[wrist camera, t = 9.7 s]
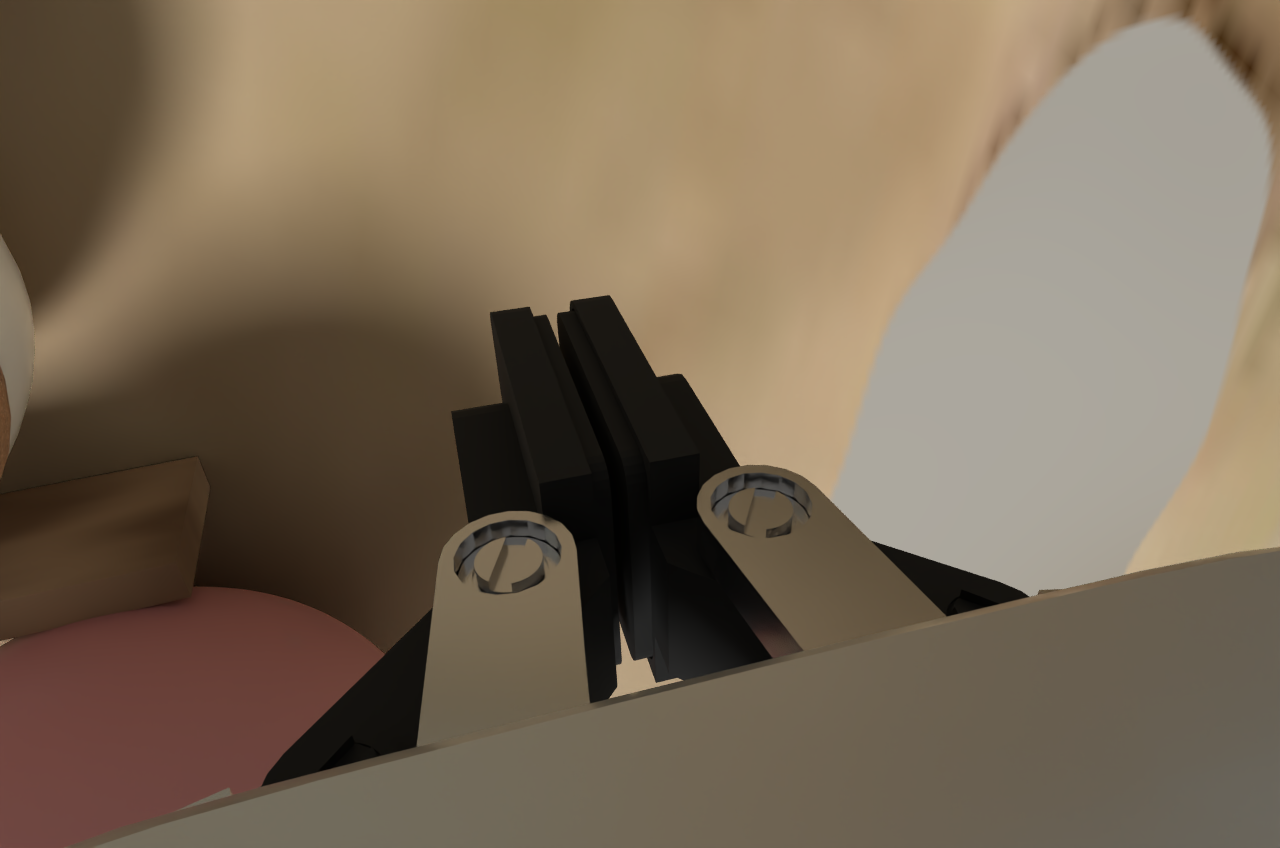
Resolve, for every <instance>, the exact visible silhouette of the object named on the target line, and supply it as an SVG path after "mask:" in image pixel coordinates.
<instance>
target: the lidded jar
mask: <svg viewBox="0 0 1280 848" xmlns="http://www.w3.org/2000/svg"><path fill="white" fill-rule="evenodd" d="M34 356H35V331H34V324H33V317H32V310H31V302H30V299H29V296H28V293H27V290H26V287H25V284H24V281H23V278H22V275H21V272H20V269H19V268H18V266H17V264H16V262H15V260H14V258H13V256H12V254H11V253H10V251H9V249H8V247H7V245H6V243H5V241H4V240H3V238H2V236H1V234H0V481H1V477H2V474H3V471H4V467H5V464H6V461H7V457H8V456H9V454H10V451H11V449H12V447H13V445H14V442H15V440H16V438H17V435H18V433H19V430H20V427H21V424H22V420H23V417H24V414H25V410H26V407H27V404H28V400H29V395H30V391H31V387H32V382H33V371H34Z"/></svg>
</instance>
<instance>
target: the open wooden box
mask: <svg viewBox="0 0 1280 848" xmlns="http://www.w3.org/2000/svg"><path fill="white" fill-rule="evenodd" d="M209 493H210V486H209V483H208V481H207V478H206V476H205V473H204V471H203V468H202V466H201V463H200V461H199V458H198V456H197V457H191V458H186V459H181V460H176V461H171V462H165V463H160V464H155V465H150V466H145V467H139V468H134V469H129V470H124V471H119V472H113V473H108V474H103V475H98V476H93V477H87V478H82V479H77V480H72V481H67V482H62V483H56V484H51V485H46V486H41V487H36V488H30V489H25V490H20V491H15V492H10V493H4V494H0V641H2V640H6V639H10V638H15V637H19V636H23V635H28V634H32V633H36V632H41V631H45V630H49V629H54V628H58V627H61V626H64V625H68V624H71V623H75V622H78V621H82V620H86V619H90V618H95V617H99V616H104V615H109V614H114V613H119V612H125V611H132V610H137V609H141V608H145V607H150V606H154V605H158V604H163V603H167V602H171V601H176V600H180V599H184V598H189V597H191V595H192V589H193V584H194V578H195V572H196V567H197V561H198V555H199V550H200V544H201V538H202V533H203V527H204V521H205V515H206V510H207V504H208V498H209Z"/></svg>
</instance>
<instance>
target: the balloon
mask: <svg viewBox="0 0 1280 848" xmlns="http://www.w3.org/2000/svg"><path fill="white" fill-rule="evenodd" d="M384 655H385V654H384V653H383V652H382V651H381V650H380V649H379V648H377V647H376V646H375V645H374V644H373V643H371V642H370V641H369V640H368V639H366V638H365V637H364V636H362V635H361V634H360V633H358V632H357V631H355V630H354V629H352V628H351V627H349V626H347V625H346V624H344V623H342V622H341V621H339V620H337V619H335V618H333V617H332V616H330V615H328V614H326V613H324V612H321V611H319V610H317V609H315V608H312V607H310V606H307V605H305V604H302V603H299V602H296V601H293V600H290V599H287V598H283V597H280V596H276V595H271V594H267V593H263V592H258V591H252V590H245V589H236V588H224V587H193V589H192V595H191V597H189V598H184V599H180V600H176V601H171V602H167V603H163V604H158V605H154V606H150V607H145V608H141V609H137V610H132V611H125V612H119V613H114V614H109V615H104V616H99V617H95V618H90V619H86V620H82V621H78V622H75V623H71V624H68V625H64V626H61V627H58V628H54V629H49V630H45V631H41V632H36V633H32V634H28V635H23V636H19V637H16V638H14V639H12V640H10V641H9V642H7V643H5V644H4V645H2V646H0V848H64V847H67V846H70V845H73V844H75V843H78V842H81V841H84V840H86V839H89V838H92V837H95V836H98V835H100V834H103V833H106V832H109V831H111V830H114V829H117V828H120V827H123V826H126V825H130V824H133V823H137V822H140V821H143V820H147V819H150V818H154V817H157V816H161V815H164V814H168V813H171V812H174V811H176V810H179V809H181V808H183V807H185V806H188V805H190V804H192V803H195V802H197V801H199V800H201V799H204V798H206V797H208V796H211V795H213V794H215V793H217V792H220V791H222V790H224V789H227V788H230V790H231V792H232V794H233V795H234V794H238V793H241V792H245V791H249V790H252V789H256V788H258V787H261V786H262V784H263V781H264V779H265V777H266V775H267V773H268V772H269V771H270V770H271V769H272V767H273V766H274V765H275V764H276V762H277V761H278V760H279V759H280V757H281V756H282V755H283V754H284V753H285V752H286V751H287V750H288V749H289V748H290V747H291V746H292V745H293V744H294V743H295V742H296V741H297V740H298V739H299V738H300V737H301V736H302V735H303V734H304V733H305V732H306V731H307V730H308V729H309V728H310V727H311V726H312V725H313V724H314V723H315V722H316V721H317V720H318V719H320V718H321V717H322V716H323V715H324V714H325V713H326V712H327V711H328V710H329V709H330V708H331V707H332V706H333V705H334V704H335V703H336V702H337V701H338V700H339V699H340V698H341V697H342V696H343V695H344V694H345V693H346V692H347V691H348V690H349V689H350V688H351V687H352V686H353V685H354V684H355V683H356V682H357V681H358V680H359V679H360V678H361V677H362V676H364V675H365V674H366V673H367V672H368V671H369V670H370V669H371V668H372V667H373V666H374V665H375V664H376V663H377V662H378V661H379V660H380V659H381V658H382V657H383V656H384Z"/></svg>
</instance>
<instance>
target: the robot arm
mask: <svg viewBox="0 0 1280 848" xmlns="http://www.w3.org/2000/svg"><path fill="white" fill-rule="evenodd" d="M490 318H491V326H492V334H493V340H494V347H495V354H496V361H497V368H498V375H499V382H500V389H501V396H502V403H499V404H493V405H487V406H481V407H475V408H469V409H463V410H457V411H451V413H452V420H453V426H454V433H455V439H456V445H457V452H458V458H459V464H460V471H461V477H462V483H463V490H464V496H465V503H466V509H467V515H468V522H469V524H468V525H466V526H465V527H463V528H462V529H461V530H459V531H458V532H456V533H455V534H454V535H453V536H452V537H451V539H450V540H449V541H448V542H447V544H446V545H445V546H444V547H443V550H442V553H441V556H440V559H439V562H438V569H437V577H436V586H435V594H434V603H433V608H432V609H431V610H430V611H429V612H428V613H427V614H426V615H425V616H424V617H423V618H422V619H421V620H420V621H419V622H418V623H417V624H416V625H415V626H414V627H413V628H412V629H411V630H410V631H409V632H408V633H407V634H405V635H404V636H403V637H402V638H401V639H400V640H399V641H398V642H397V643H396V644H395V645H394V646H393V647H392V648H391V649H390V650H389V651H388V652H387V653H386V654H385V655H384V656H383V657H382V658H381V659H380V660H379V661H378V662H377V663H376V664H375V665H374V666H373V667H372V668H371V669H370V670H369V671H368V672H367V673H366V674H365V675H364V676H362V677H361V678H360V679H359V680H358V681H357V682H356V683H355V684H354V685H353V686H352V687H351V688H350V689H349V690H348V691H347V692H346V693H345V694H344V695H343V696H342V697H341V698H340V699H339V700H338V701H337V702H336V703H335V704H334V705H333V706H332V707H331V708H330V709H329V710H328V711H327V712H326V713H325V714H324V715H323V716H322V717H321V718H320V719H318V720H317V721H316V722H315V723H314V724H313V725H312V726H311V727H310V728H309V729H308V730H307V731H306V732H305V733H304V734H303V735H302V736H301V737H300V738H299V739H298V740H297V741H296V742H295V743H294V744H293V745H292V746H291V747H290V748H289V749H288V750H287V751H286V752H285V753H284V754H283V755H282V756H281V757H280V759H279V760H278V761H277V762H276V764H275V765H274V766H273V767H272V769H271V770H270V771H269V772H268V773H267V775H266V777H265V779H264V781H263V784H262V786H261V787H258V788H256V789H252V790H249V791H245V792H241V793H238V794H234V795H233V794H232V792H231V790H230V788H227V789H224V790H222V791H220V792H217V793H215V794H213V795H211V796H208V797H206V798H204V799H201V800H199V801H197V802H195V803H192V804H190V805H188V806H185V807H183V808H181V809H179V810H176V811H174V812H171V813H168V814H164V815H161V816H157V817H154V818H150V819H147V820H143V821H140V822H137V823H133V824H130V825H126V826H123V827H120V828H117V829H114V830H111V831H109V832H106V833H103V834H100V835H98V836H95V837H92V838H89V839H86V840H84V841H81V842H78V843H75V844H73V845H70V846H67V847H64V848H1280V547H1276V548H1267V549H1259V550H1250V551H1242V552H1236V553H1230V554H1225V555H1220V556H1215V557H1210V558H1205V559H1200V560H1195V561H1190V562H1185V563H1179V564H1174V565H1169V566H1164V567H1159V568H1154V569H1149V570H1144V571H1139V572H1135V573H1131V574H1127V575H1122V576H1119V577H1114V578H1110V579H1106V580H1101V581H1097V582H1093V583H1088V584H1084V585H1080V586H1075V587H1070V588H1066V589H1054V590H1039V592H1038V595H1036V596H1031V597H1029V596H1027V595H1026V594H1025V593H1023V592H1022V591H1020V590H1017V589H1015V588H1013V587H1010V586H1008V585H1005V584H1003V583H1001V582H998V581H995V580H992V579H988V578H986V577H982V576H979V575H976V574H973V573H970V572H967V571H964V570H960V569H958V568H954V567H951V566H948V565H945V564H942V563H938V562H936V561H933V560H929V559H926V558H923V557H920V556H917V555H914V554H911V553H908V552H904V551H902V550H898V549H895V548H892V547H889V546H886V545H883V544H880V543H877V542H873V541H870V540H869V539H868V538H867V537H866V536H865V535H864V534H863V533H862V532H861V531H860V530H859V529H858V528H857V527H856V526H855V525H854V524H853V523H852V522H851V521H850V520H849V519H848V518H847V517H846V516H845V515H844V514H843V513H842V512H841V511H840V510H839V509H838V508H837V507H836V506H835V505H834V504H833V503H832V502H831V501H830V500H829V499H828V498H827V497H826V496H825V495H824V494H823V493H822V492H821V491H820V490H819V489H818V488H817V487H816V486H815V485H814V484H812V483H811V482H810V481H808V480H807V479H806V478H804V477H803V476H801V475H799V474H796V473H794V472H792V471H789V470H787V469H783V468H778V467H773V466H768V465H745V466H740V465H739V464H738V462H737V460H736V459H735V457H734V456H733V454H732V452H731V451H730V449H729V448H728V446H727V444H726V443H725V441H724V440H723V438H722V436H721V435H720V433H719V432H718V430H717V428H716V427H715V425H714V424H713V422H712V420H711V419H710V417H709V416H708V414H707V412H706V411H705V409H704V407H703V406H702V404H701V403H700V401H699V399H698V398H697V396H696V395H695V393H694V391H693V390H692V388H691V387H690V385H689V383H688V382H687V380H686V379H685V378H684V376H683V375H682V374H673V375H667V376H661V377H656V375H655V374H654V372H653V370H652V368H651V367H650V365H649V363H648V361H647V359H646V358H645V356H644V354H643V352H642V351H641V349H640V347H639V345H638V344H637V342H636V340H635V338H634V337H633V335H632V333H631V331H630V330H629V328H628V326H627V324H626V322H625V321H624V319H623V317H622V315H621V314H620V312H619V310H618V308H617V307H616V305H615V303H614V301H613V300H612V298H611V297H610V295H607V296H600V297H593V298H586V299H579V300H573V301H571V302H570V311H568V312H561V313H558V314H557V325H558V335H559V344H558V342H557V340H556V337H555V335H554V332H553V330H552V327H551V325H550V322H549V320H548V317H547V315H541V316H534V317H533V314H532V312H531V309H530V307H524V308H517V309H510V310H503V311H497V312H490ZM559 346H560V347H559ZM619 621H620V624H621V627H622V630H623V633H624V636H625V639H626V642H627V645H628V648H629V651H630V654H631V656H632V658H633V660H639V659H643V658H647V659H648V662H649V664H650V667H651V670H652V673H653V676H654V678H655V681H656V683H657V682H661V681H665V680H670V679H674V678H679V679H682V680H684V681H680V682H675V683H671V684H667V685H663V686H659V687H655V688H651V689H647V690H643V691H639V692H635V693H631V694H627V695H622V696H618V697H614V698H610V696H611V695H612V693H613V692H614V691H615V689H616V688H617V674H616V665H618V664H621V662H622V656H621V640H620V624H619ZM609 698H610V699H609Z"/></svg>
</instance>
